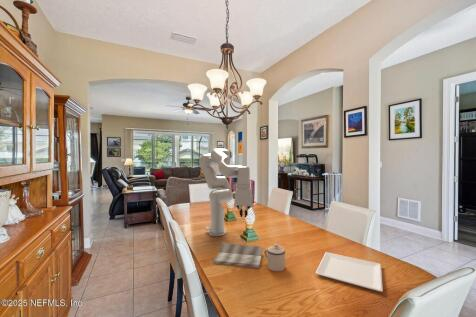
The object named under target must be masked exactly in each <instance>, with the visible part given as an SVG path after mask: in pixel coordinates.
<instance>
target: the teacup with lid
mask: <svg viewBox="0 0 476 317" xmlns="http://www.w3.org/2000/svg"><path fill="white" fill-rule="evenodd" d="M263 251H264V257H265V258H266V259H267V269H268V270H270V271H273V272H282V271H284V270H285V267H286V250H285V248H284V247H283V246H281V245H279V244H278V243H274V245H270V246H268V247H267V248H266V249H265V250H263Z"/></svg>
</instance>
